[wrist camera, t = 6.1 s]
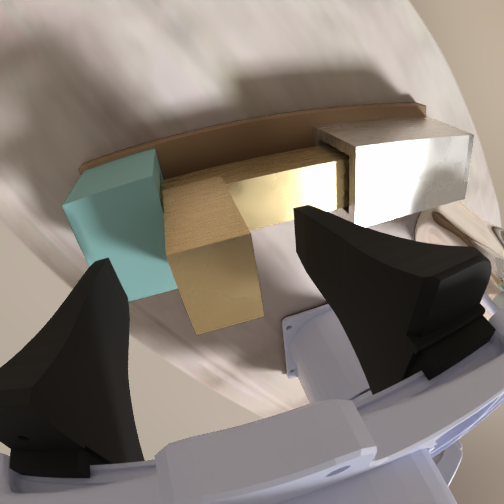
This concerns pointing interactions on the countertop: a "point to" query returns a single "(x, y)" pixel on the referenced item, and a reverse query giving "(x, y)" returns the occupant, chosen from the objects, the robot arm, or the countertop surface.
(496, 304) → the beer glass
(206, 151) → the board
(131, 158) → the teal rectangular block
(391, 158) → the white rectangular block
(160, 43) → the countertop surface
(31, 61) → the countertop surface
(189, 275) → the wooden l-shaped block
